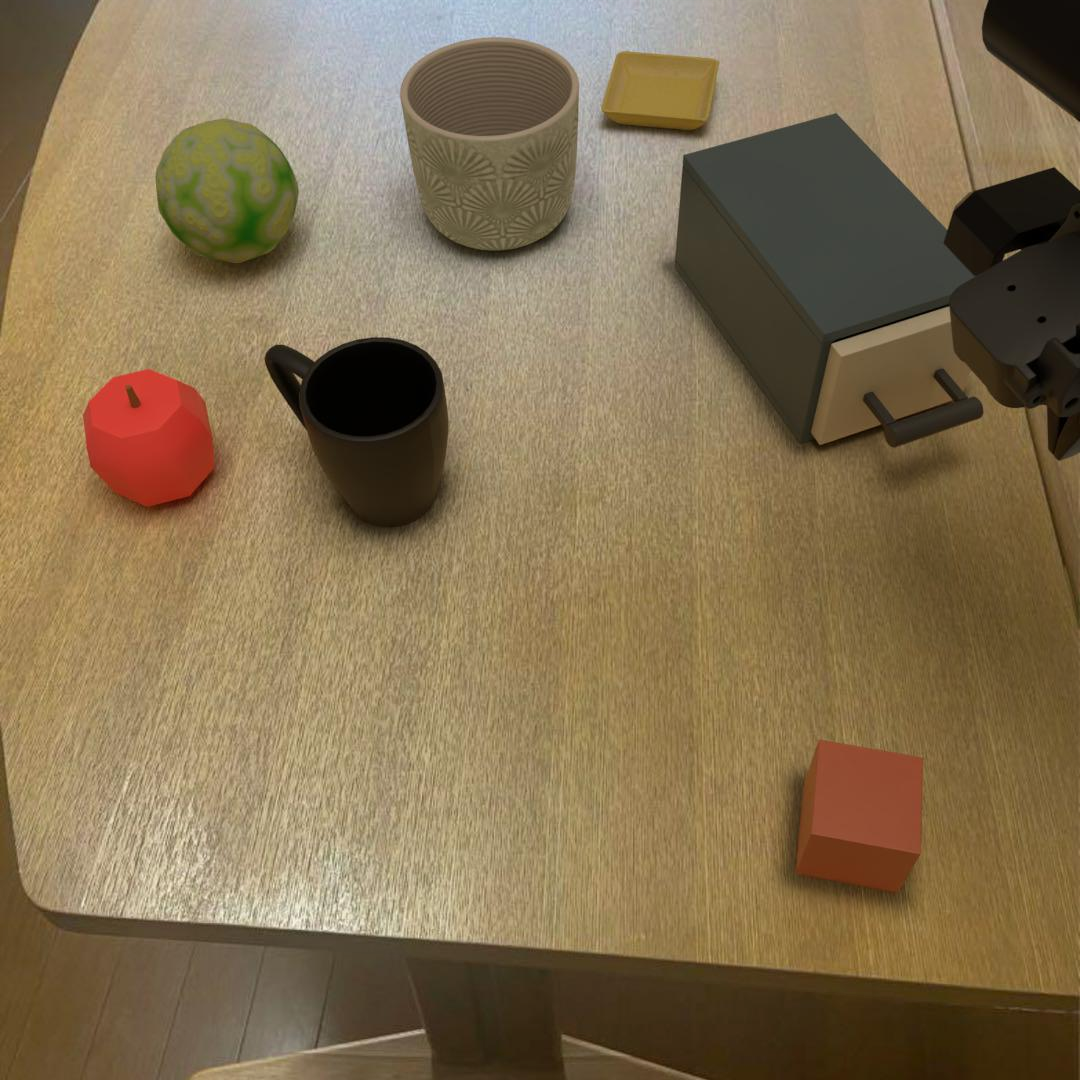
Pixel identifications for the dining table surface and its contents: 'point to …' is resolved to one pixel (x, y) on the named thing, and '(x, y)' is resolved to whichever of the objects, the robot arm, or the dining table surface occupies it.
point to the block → (861, 816)
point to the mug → (371, 422)
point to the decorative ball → (226, 190)
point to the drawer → (895, 381)
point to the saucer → (660, 90)
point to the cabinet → (805, 252)
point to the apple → (149, 437)
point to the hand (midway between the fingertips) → (1061, 453)
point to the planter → (493, 139)
